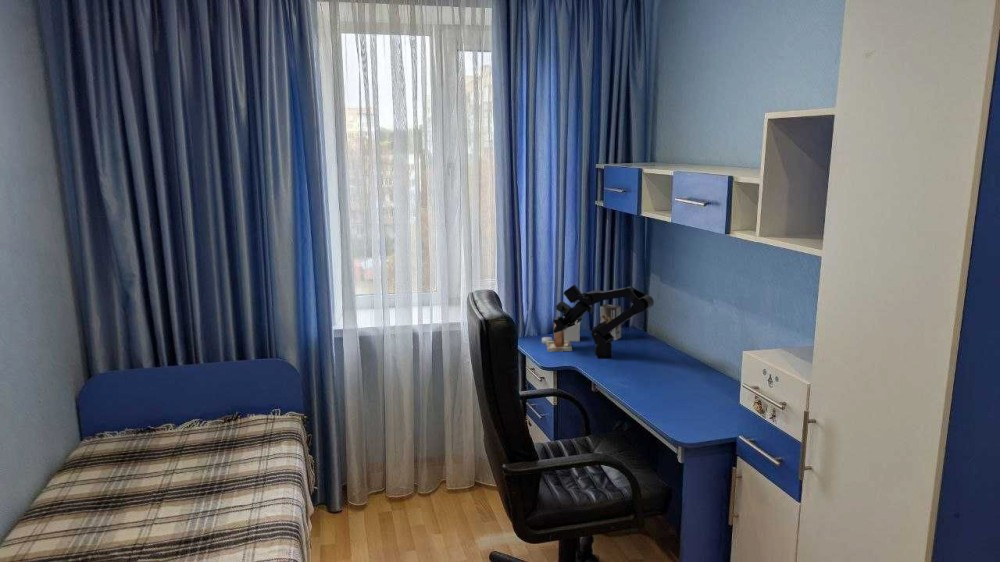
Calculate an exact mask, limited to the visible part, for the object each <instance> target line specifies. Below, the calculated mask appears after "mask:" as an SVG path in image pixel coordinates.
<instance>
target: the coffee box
mask: <svg viewBox="0 0 1000 562" xmlns="http://www.w3.org/2000/svg"><path fill="white" fill-rule="evenodd" d="M599 308H600V309H599V324H600V323H601V322H604V321H606V322H607V323H608V322H610V321H611V320H613V319H614V318H616V317H617V316H619V315H620V314H622V306H621V305H616V304H610V303H609V304H607V303H605V304H604V303H603V304H602V305H600V307H599ZM611 335H612V336H613V337H614V339H613V341H618V340H619V339H621V338H622V324H620V325H619V326H617V327H616V328H615V329H614V330H613V331H612V332H611Z"/></svg>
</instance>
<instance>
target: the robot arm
mask: <svg viewBox="0 0 1000 562" xmlns="http://www.w3.org/2000/svg"><path fill="white" fill-rule="evenodd" d="M562 294H563V295H564V297H565V298H566V299H567V300H568V301H569V303H571V304H574V305H573V306H570V305H569V304H568V303H566V302H564V301H560V302H558V304H557V305H556V306H555V307H556V308H555V309H556V310H557V311H558V312H560V313H562V316H557V317H555V319H554V318H553V321H552V322H553V324H554V323H555V324H556V327H555V329H554V328H553V334H554V333H556V332H559V331H563V330H565V329H567V328H568V327H571V326H573V325H575V323H581V322H582V321H583V315H584V314H586V312H588V313H589V314H591V313H593V312H594V305H595V304H598V303H600V302H603V301H607V300H608V301H609V300H615V299H620V298H627V299H628V300H629V301H630V302H631V303H630V304H631V306H630V307H629V308H628V309H625V310H624V311H623V312H621V314H620V315H619V316H617V317H616V318H614V319H613V320H611V321H610V322H608V323H607V322H606V321H604V322H601V323H600V322H599V324H597V325H596V326H594V327H593V328H592V330H591V337H592V339H593V342H594V345H595V346H594V350H595V351H594V355H595V356H596V358H597V359H613V356H612V343H613V341H614V340H613V339H614V337H613V336H612V335H611V332H612V331H613V330H614V329H615V328H616V327H617V326H619V325H620V324H621V325H622V324H623V323H625V322H626V321H628V320H630V319H631V318H633V317H634V316H636V315H638V314H639V313H642V312H645V311H647V310H649V309H650V308H652V307H654V303H655V302H654V301H655V300H654V298H653V297H652V296H651V295H648V294H646V293H644V292H642V291H640V290H639V289H636V288H635V287H633V286H627V287H623V288H622V287H621V288H616V289H610V290H598V289H597V290H596V289H595V290H591V291H588V292H583V293H582V292H581V291H580V290H579V289H578V286H577V285H576V284H573V285H572V286H570V287H569V288H567V289H565V290H564V291H563V293H562Z"/></svg>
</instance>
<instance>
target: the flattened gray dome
mask: <svg viewBox="0 0 1000 562" xmlns="http://www.w3.org/2000/svg"><path fill="white" fill-rule="evenodd" d="M546 341H553V337H550V336H543V337H541V344H542V345H546Z"/></svg>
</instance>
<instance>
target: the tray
mask: <svg viewBox="0 0 1000 562" xmlns="http://www.w3.org/2000/svg"><path fill="white" fill-rule="evenodd" d="M545 345H546V348H547V352H549V353H550V352H552V353H553V352H555V353H556V352H557V353H559V352H560V353H561V352H563V351H572V352H573V347H572V344H571V341H564V346H555V345H554V340H552V341H546V344H545Z"/></svg>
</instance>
